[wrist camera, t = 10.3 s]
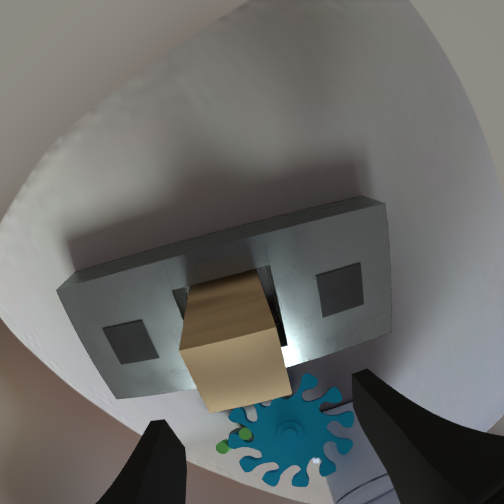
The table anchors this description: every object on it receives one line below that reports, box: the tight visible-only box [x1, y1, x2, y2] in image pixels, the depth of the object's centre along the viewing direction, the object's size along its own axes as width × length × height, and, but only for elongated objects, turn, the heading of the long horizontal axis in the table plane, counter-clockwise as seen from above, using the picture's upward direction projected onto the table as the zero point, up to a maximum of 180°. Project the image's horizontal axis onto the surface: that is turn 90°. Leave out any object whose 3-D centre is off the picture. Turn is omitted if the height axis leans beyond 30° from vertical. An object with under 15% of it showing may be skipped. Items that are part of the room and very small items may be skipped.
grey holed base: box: [56, 196, 392, 399], centre depth 18 cm, size 9×20×3 cm, turn 103°
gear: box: [216, 373, 354, 487], centre depth 21 cm, size 11×6×10 cm
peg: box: [179, 269, 292, 413], centre depth 16 cm, size 4×4×8 cm
